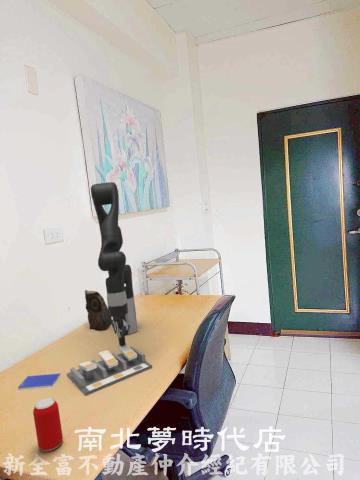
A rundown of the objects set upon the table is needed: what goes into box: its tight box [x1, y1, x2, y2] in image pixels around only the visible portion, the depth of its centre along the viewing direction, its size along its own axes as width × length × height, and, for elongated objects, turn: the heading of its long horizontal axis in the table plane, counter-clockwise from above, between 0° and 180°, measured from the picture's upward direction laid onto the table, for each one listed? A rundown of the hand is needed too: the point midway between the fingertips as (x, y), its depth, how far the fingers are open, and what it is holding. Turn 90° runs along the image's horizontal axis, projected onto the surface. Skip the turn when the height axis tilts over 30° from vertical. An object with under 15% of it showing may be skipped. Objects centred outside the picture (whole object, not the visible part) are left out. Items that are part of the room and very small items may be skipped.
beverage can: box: [32, 397, 64, 452], centre depth 91 cm, size 6×6×12 cm
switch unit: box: [66, 346, 153, 396], centre depth 129 cm, size 19×26×4 cm
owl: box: [84, 289, 113, 332], centre depth 180 cm, size 13×13×20 cm
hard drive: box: [17, 373, 61, 391], centre depth 127 cm, size 2×8×12 cm
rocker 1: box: [77, 360, 97, 371], centre depth 124 cm, size 9×4×2 cm, turn 36°
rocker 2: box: [117, 343, 137, 360], centre depth 133 cm, size 9×4×2 cm, turn 36°
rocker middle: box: [98, 349, 118, 368], centre depth 129 cm, size 9×4×2 cm, turn 36°
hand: (122, 345), depth 136 cm, fingers closed
